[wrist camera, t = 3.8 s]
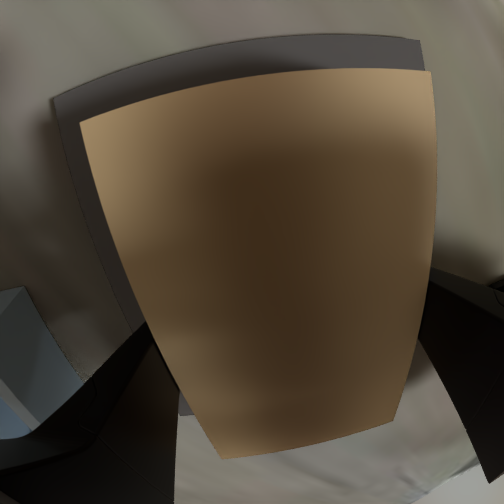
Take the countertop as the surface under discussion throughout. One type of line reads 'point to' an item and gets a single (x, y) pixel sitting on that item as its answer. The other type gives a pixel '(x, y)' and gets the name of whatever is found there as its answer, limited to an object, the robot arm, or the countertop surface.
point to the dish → (29, 367)
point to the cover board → (277, 244)
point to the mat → (192, 75)
